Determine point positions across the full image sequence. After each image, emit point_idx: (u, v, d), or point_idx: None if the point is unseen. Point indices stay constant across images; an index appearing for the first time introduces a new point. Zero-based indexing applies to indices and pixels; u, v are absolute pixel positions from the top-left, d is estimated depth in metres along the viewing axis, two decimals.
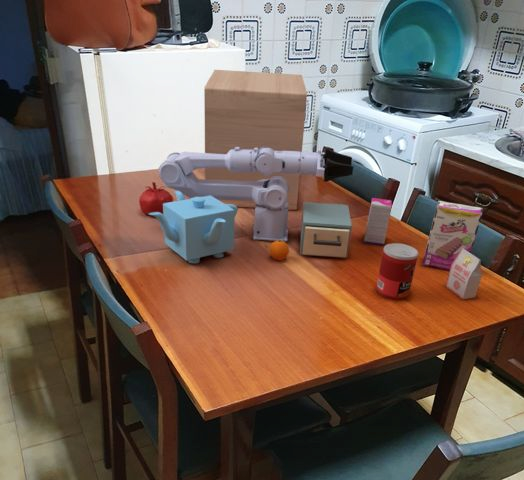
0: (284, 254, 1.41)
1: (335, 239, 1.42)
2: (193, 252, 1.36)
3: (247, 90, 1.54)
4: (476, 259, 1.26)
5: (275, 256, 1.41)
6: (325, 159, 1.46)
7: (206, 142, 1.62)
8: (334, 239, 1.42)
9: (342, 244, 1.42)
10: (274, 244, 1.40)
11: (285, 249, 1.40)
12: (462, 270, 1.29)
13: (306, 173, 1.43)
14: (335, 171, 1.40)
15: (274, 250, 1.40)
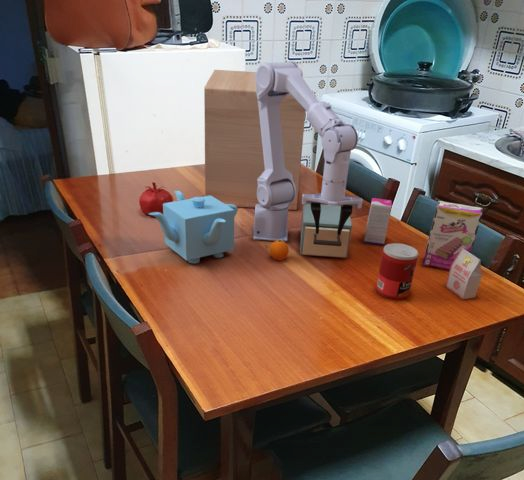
0: (284, 254, 1.41)
1: (335, 239, 1.42)
2: (193, 252, 1.36)
3: (247, 90, 1.54)
4: (476, 259, 1.26)
5: (275, 256, 1.41)
6: (342, 207, 1.34)
7: (206, 142, 1.62)
8: (334, 239, 1.42)
9: (342, 244, 1.42)
10: (274, 244, 1.40)
11: (285, 249, 1.40)
12: (462, 270, 1.29)
13: None
14: None
15: (274, 250, 1.40)
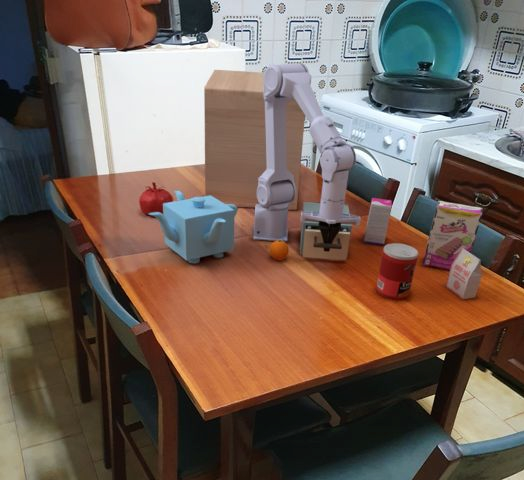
0: (284, 254, 1.41)
1: (335, 242, 1.40)
2: (193, 252, 1.36)
3: (247, 90, 1.54)
4: (476, 259, 1.26)
5: (275, 256, 1.41)
6: (330, 224, 1.35)
7: (206, 142, 1.62)
8: (334, 242, 1.40)
9: (342, 247, 1.41)
10: (274, 244, 1.40)
11: (285, 249, 1.40)
12: (462, 270, 1.29)
13: None
14: None
15: (274, 250, 1.40)
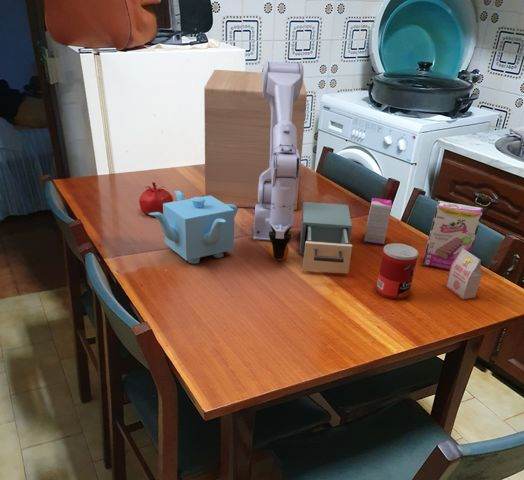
0: (284, 254, 1.41)
1: (337, 254, 1.34)
2: (193, 252, 1.36)
3: (247, 90, 1.54)
4: (476, 259, 1.26)
5: None
6: None
7: (206, 142, 1.62)
8: (336, 254, 1.34)
9: (344, 260, 1.34)
10: None
11: (285, 249, 1.40)
12: (462, 270, 1.29)
13: None
14: None
15: None
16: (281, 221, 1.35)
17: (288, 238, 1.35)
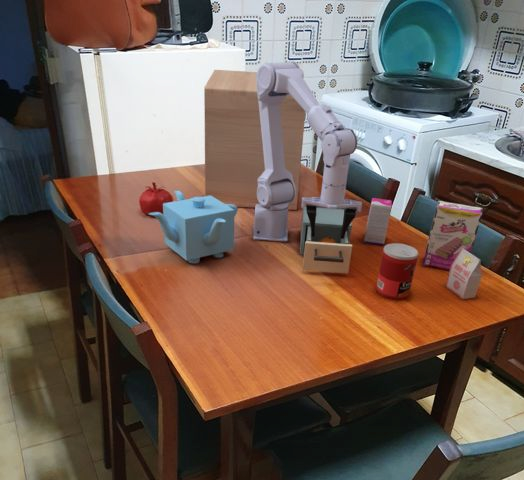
0: None
1: (337, 254, 1.34)
2: (193, 252, 1.36)
3: (247, 90, 1.54)
4: (476, 259, 1.26)
5: None
6: (345, 210, 1.34)
7: (206, 142, 1.62)
8: (336, 254, 1.34)
9: (344, 260, 1.34)
10: None
11: None
12: (462, 270, 1.29)
13: None
14: None
15: None
16: None
17: None
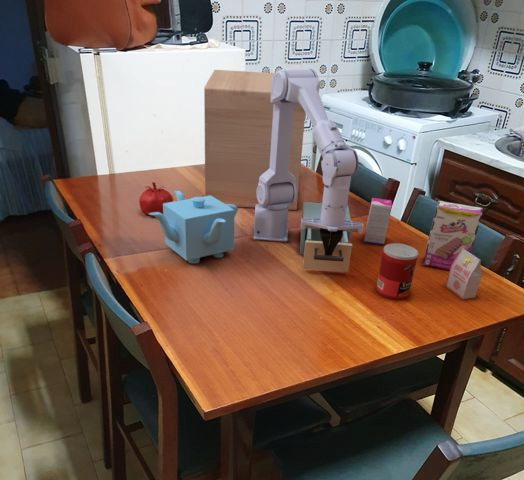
0: None
1: (337, 253, 1.34)
2: (193, 252, 1.36)
3: (247, 90, 1.54)
4: (476, 259, 1.26)
5: None
6: (332, 231, 1.29)
7: (206, 142, 1.62)
8: (336, 253, 1.34)
9: (344, 259, 1.35)
10: None
11: None
12: (462, 270, 1.29)
13: None
14: None
15: None
16: None
17: None
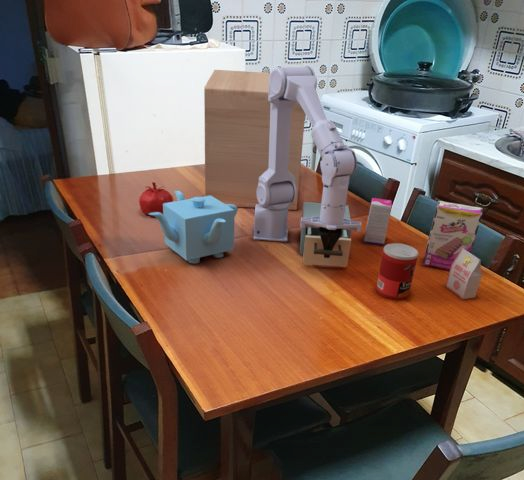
0: None
1: (336, 248, 1.37)
2: (193, 252, 1.36)
3: (247, 90, 1.54)
4: (476, 259, 1.26)
5: None
6: (331, 229, 1.32)
7: (206, 142, 1.62)
8: (335, 248, 1.37)
9: (343, 253, 1.38)
10: None
11: None
12: (462, 270, 1.29)
13: None
14: None
15: None
16: None
17: None
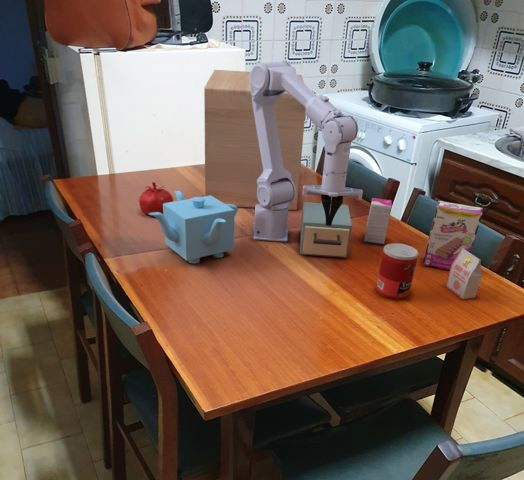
0: None
1: (335, 238, 1.42)
2: (193, 252, 1.36)
3: (247, 90, 1.54)
4: (476, 259, 1.26)
5: None
6: (332, 197, 1.35)
7: (206, 142, 1.62)
8: (334, 238, 1.42)
9: (342, 243, 1.43)
10: None
11: None
12: (462, 270, 1.29)
13: None
14: None
15: None
16: (344, 186, 1.33)
17: None
